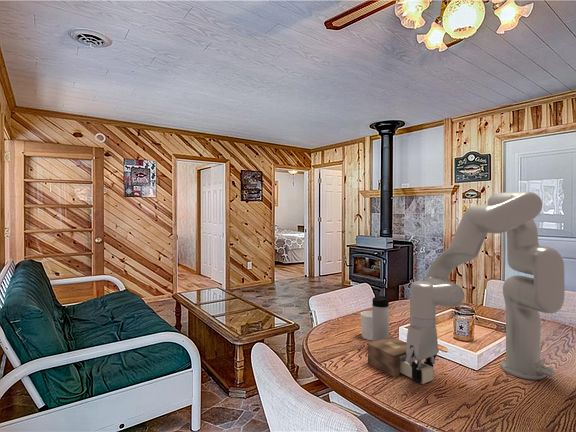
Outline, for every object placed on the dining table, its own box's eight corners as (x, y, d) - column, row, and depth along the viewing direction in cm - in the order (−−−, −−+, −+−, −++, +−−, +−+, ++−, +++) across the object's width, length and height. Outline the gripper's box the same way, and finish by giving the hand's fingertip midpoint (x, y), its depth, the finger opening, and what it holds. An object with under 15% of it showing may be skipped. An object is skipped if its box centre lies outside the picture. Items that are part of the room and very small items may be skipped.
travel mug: (390, 351, 132) (390, 299, 131) (372, 350, 133) (372, 298, 133) (389, 344, 138) (389, 295, 137) (372, 343, 139) (372, 294, 139)
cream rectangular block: (433, 379, 109) (433, 366, 109) (423, 383, 107) (423, 370, 107) (398, 362, 121) (398, 351, 121) (388, 366, 119) (388, 354, 119)
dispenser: (420, 368, 118) (420, 347, 117) (396, 378, 111) (395, 356, 111) (391, 355, 129) (391, 336, 128) (367, 363, 122) (367, 343, 122)
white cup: (359, 339, 144) (358, 315, 144) (362, 332, 151) (362, 310, 151) (378, 341, 141) (378, 317, 141) (380, 335, 148) (380, 312, 148)
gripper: (429, 313, 117) (429, 366, 117) (394, 322, 108) (394, 380, 109) (450, 319, 111) (449, 375, 111) (414, 330, 102) (414, 391, 102)
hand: (422, 377), depth 110 cm, fingers closed on cream rectangular block, 5 cm apart
